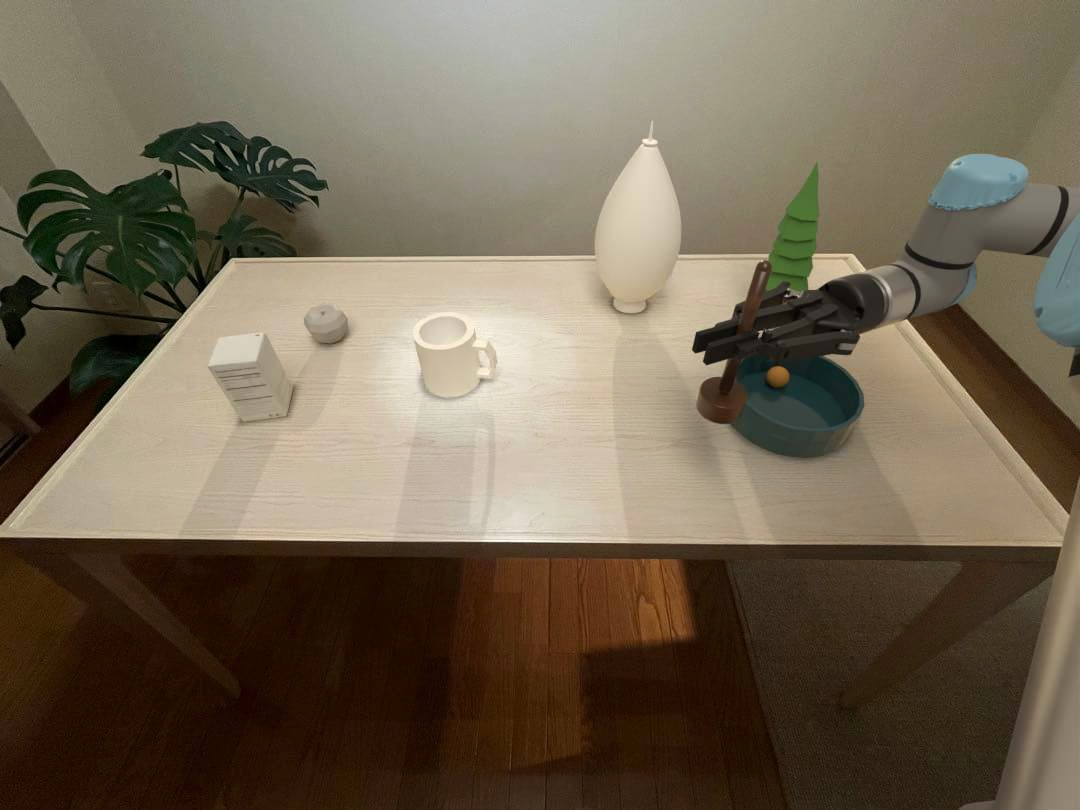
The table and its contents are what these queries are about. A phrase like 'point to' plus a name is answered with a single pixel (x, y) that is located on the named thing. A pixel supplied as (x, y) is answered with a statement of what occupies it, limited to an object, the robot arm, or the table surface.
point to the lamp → (638, 230)
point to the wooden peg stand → (733, 362)
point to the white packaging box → (251, 376)
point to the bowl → (799, 406)
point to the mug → (451, 354)
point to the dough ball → (777, 377)
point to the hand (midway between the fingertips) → (701, 348)
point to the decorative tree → (796, 238)
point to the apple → (326, 323)
